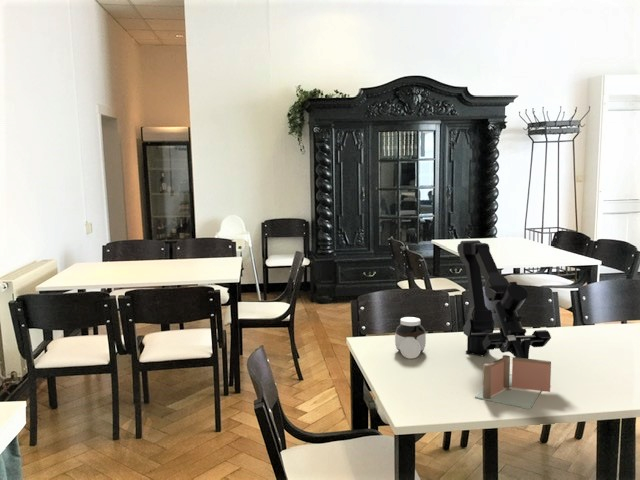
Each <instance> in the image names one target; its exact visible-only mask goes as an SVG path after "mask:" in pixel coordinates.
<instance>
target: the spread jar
mask: <svg viewBox="0 0 640 480" xmlns="http://www.w3.org/2000/svg"><path fill="white" fill-rule="evenodd" d="M426 335H427V334H426V330H425V328H424V327H423V326H422V325H421V319H420V318H419V317H414V316H404V317H401V318H400V324H399V325H398V326H397V327H396V329H395V333H394V343H395V348H396V350H398V352H399V353H401V356H403V358H407V359H409V360H413V359H416V358H417V357H418V356H420V354H421V353H422V352H424V350H425V348H426V341H427V340H426V339H427V337H426Z"/></svg>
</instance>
